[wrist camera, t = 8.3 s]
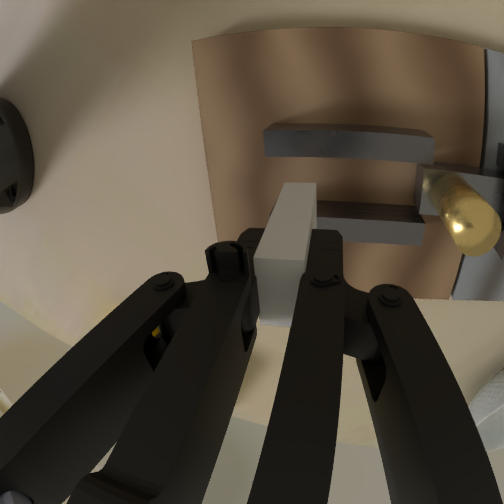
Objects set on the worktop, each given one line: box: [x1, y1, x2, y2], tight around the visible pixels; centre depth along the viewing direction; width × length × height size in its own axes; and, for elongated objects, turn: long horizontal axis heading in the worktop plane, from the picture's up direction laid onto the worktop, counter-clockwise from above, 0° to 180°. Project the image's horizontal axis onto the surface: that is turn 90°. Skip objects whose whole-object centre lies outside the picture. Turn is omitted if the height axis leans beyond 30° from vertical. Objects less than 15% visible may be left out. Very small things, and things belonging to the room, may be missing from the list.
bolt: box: [413, 162, 504, 257], centre depth 14 cm, size 10×3×7 cm, turn 95°
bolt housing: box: [263, 123, 504, 261], centre depth 17 cm, size 22×7×4 cm, turn 95°
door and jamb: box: [192, 27, 504, 301], centre depth 20 cm, size 28×20×2 cm
